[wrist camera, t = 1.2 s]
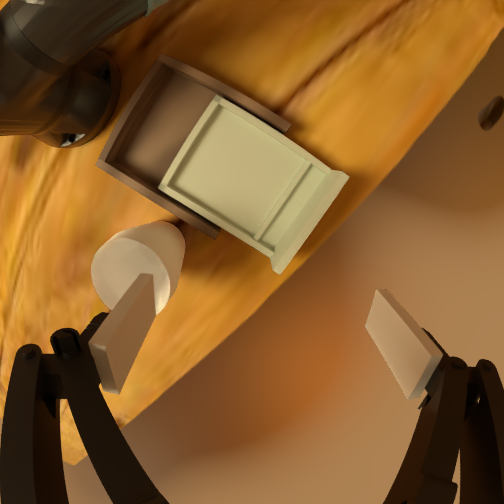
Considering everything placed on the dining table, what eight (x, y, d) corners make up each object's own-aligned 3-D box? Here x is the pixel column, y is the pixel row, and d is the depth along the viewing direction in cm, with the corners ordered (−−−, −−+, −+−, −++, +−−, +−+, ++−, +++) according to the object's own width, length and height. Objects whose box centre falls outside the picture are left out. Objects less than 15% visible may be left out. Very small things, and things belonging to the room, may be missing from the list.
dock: (107, 164, 33) (95, 165, 30) (168, 61, 29) (161, 53, 26) (217, 232, 36) (214, 239, 33) (287, 127, 32) (291, 124, 29)
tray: (162, 186, 34) (146, 192, 28) (218, 98, 30) (211, 86, 24) (275, 256, 37) (280, 275, 31) (333, 174, 33) (349, 177, 28)
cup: (173, 287, 39) (147, 336, 27) (121, 251, 37) (79, 287, 25) (207, 237, 36) (189, 273, 25) (151, 198, 35) (110, 217, 23)
